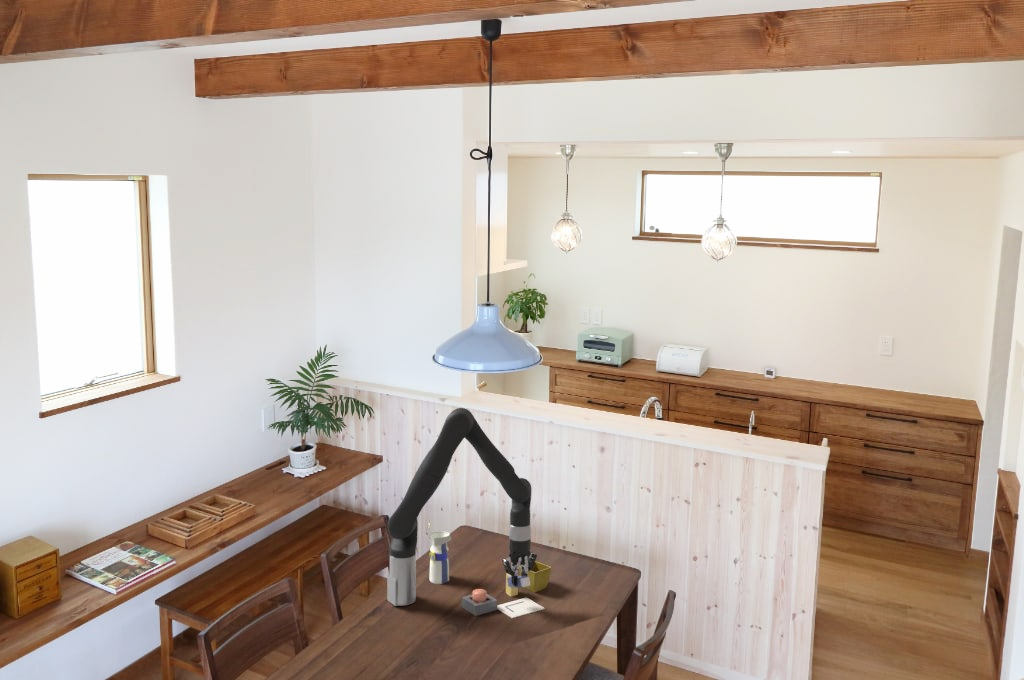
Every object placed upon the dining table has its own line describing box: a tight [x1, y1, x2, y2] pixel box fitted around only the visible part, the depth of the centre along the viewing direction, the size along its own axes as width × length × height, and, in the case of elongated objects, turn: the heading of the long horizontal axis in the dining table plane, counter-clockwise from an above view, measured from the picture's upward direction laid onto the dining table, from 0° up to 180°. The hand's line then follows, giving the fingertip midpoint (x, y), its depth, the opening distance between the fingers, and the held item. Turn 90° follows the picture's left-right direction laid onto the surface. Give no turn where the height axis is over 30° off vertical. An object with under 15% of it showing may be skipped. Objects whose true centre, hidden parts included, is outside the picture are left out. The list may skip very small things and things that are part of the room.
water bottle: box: [427, 519, 452, 585], centre depth 316 cm, size 8×9×25 cm
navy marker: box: [507, 575, 530, 588], centre depth 295 cm, size 3×3×10 cm
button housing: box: [461, 593, 498, 617], centre depth 296 cm, size 9×9×4 cm
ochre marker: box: [505, 573, 519, 598], centre depth 308 cm, size 3×3×10 cm
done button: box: [471, 588, 488, 603], centre depth 296 cm, size 5×5×4 cm
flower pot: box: [518, 560, 552, 593], centre depth 313 cm, size 9×9×9 cm
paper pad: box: [497, 597, 546, 619], centre depth 297 cm, size 14×11×1 cm
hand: (519, 584), depth 295 cm, fingers closed on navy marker, 3 cm apart
